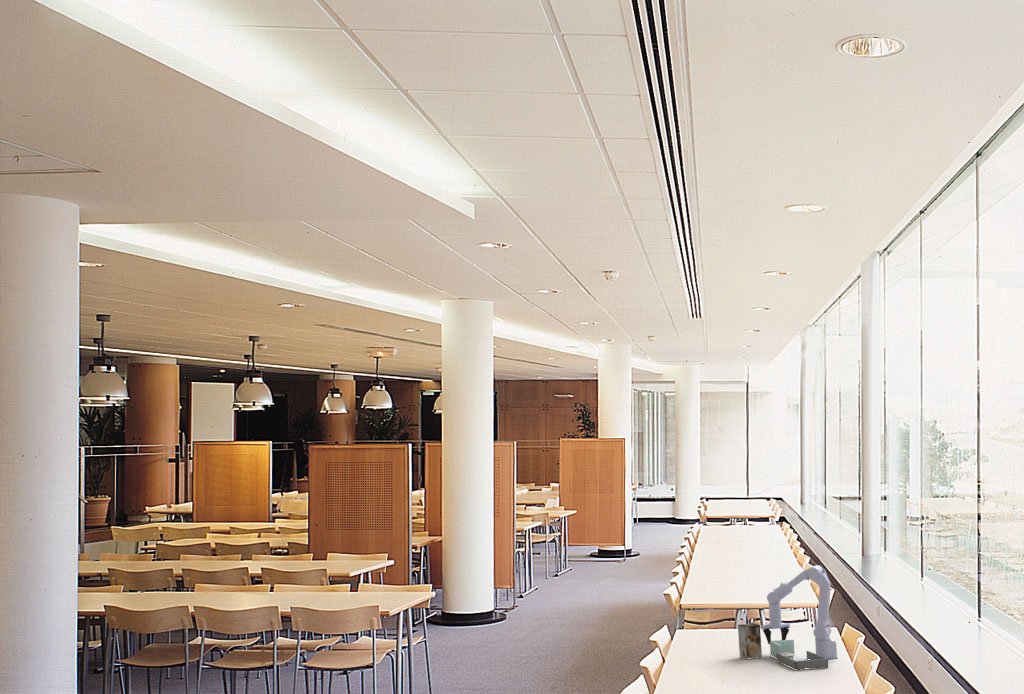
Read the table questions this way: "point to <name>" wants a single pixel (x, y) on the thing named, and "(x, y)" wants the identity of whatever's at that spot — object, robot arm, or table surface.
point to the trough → (814, 661)
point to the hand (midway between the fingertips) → (776, 643)
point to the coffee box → (749, 640)
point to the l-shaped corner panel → (782, 648)
